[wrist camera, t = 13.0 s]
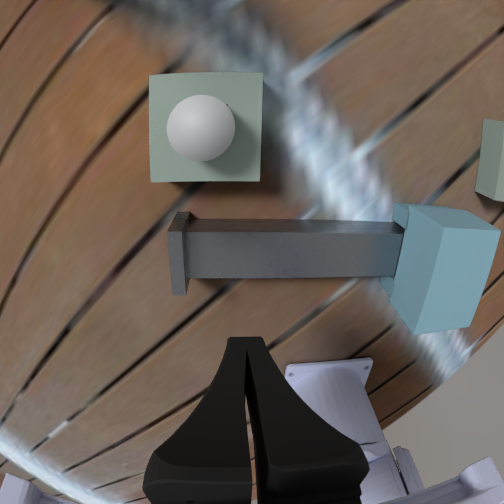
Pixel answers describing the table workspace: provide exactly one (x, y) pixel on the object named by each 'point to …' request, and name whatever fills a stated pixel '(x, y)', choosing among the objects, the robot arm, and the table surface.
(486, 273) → the block
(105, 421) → the table surface
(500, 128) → the green square holed block
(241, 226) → the rail
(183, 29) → the table surface
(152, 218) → the table surface
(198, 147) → the green block white knob
